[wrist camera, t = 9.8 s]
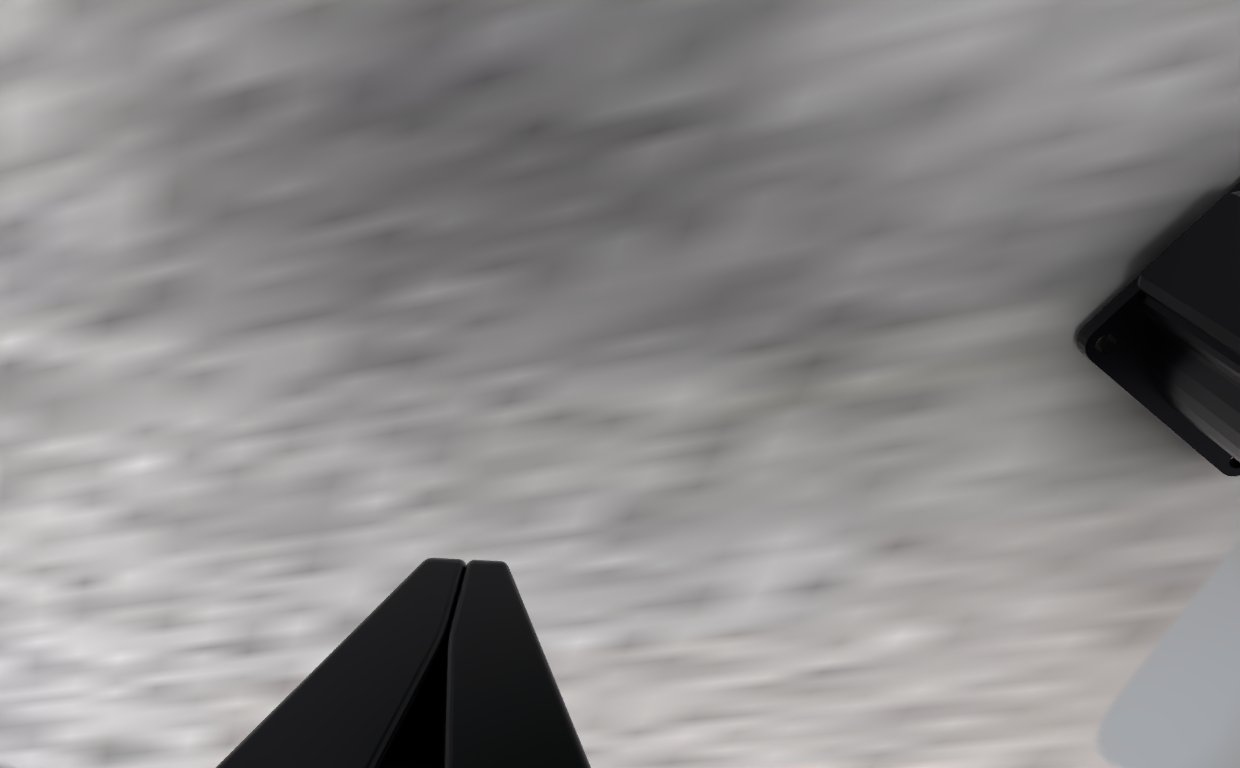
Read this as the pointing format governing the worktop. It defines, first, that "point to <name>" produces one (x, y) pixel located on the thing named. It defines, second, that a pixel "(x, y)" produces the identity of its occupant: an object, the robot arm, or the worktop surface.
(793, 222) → the worktop surface
